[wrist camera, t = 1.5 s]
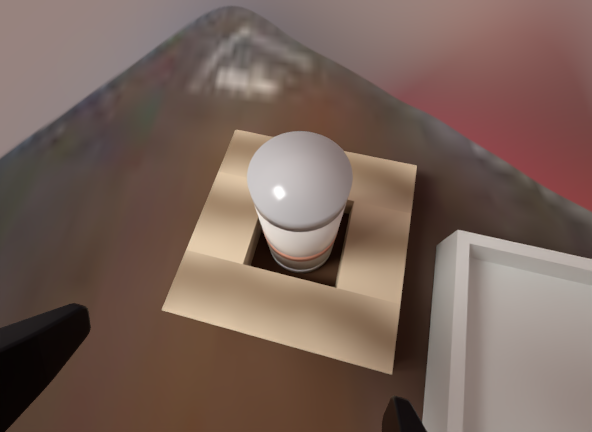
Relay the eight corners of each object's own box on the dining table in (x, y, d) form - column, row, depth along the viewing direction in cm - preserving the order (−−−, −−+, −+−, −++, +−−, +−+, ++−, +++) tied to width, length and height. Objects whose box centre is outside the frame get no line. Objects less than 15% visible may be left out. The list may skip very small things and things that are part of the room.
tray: (674, 537, 17) (763, 583, 14) (419, 458, 18) (444, 483, 15) (632, 289, 22) (689, 280, 19) (436, 245, 24) (457, 229, 20)
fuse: (325, 281, 23) (341, 235, 13) (261, 264, 23) (232, 209, 14) (338, 220, 25) (361, 141, 15) (279, 207, 25) (264, 122, 15)
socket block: (381, 371, 20) (391, 374, 18) (176, 313, 22) (161, 310, 20) (406, 181, 26) (416, 165, 24) (241, 147, 28) (235, 129, 25)
